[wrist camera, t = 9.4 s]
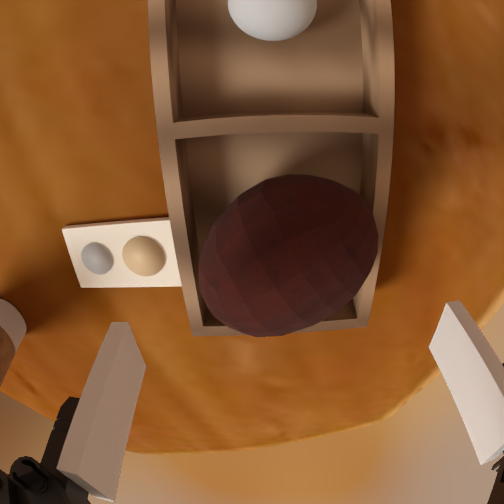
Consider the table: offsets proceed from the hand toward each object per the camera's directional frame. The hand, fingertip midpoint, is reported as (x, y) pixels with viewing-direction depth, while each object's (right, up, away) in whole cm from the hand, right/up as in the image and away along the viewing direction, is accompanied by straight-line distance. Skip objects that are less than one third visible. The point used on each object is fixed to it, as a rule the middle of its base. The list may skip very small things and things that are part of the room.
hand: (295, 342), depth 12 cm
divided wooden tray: (0, +13, +8) cm, 15 cm away
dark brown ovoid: (0, +6, +11) cm, 13 cm away
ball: (-1, +19, +4) cm, 19 cm away
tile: (-13, +3, +13) cm, 19 cm away
